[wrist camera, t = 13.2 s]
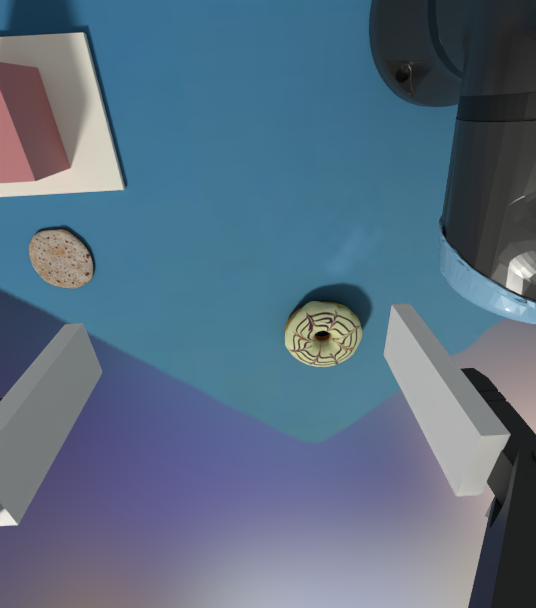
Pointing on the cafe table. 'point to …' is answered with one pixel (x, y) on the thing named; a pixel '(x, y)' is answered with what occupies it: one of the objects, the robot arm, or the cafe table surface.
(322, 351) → the decorated donut
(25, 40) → the serving mat
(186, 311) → the cafe table surface
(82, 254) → the flatbread
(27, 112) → the card deck box
